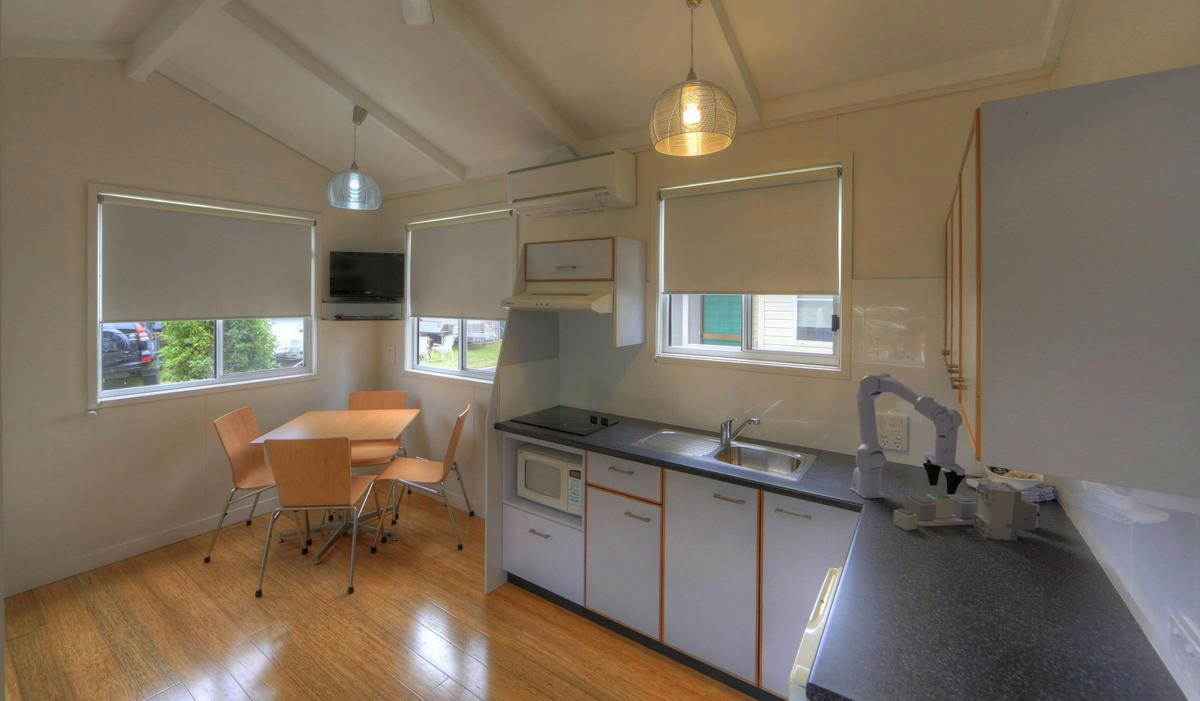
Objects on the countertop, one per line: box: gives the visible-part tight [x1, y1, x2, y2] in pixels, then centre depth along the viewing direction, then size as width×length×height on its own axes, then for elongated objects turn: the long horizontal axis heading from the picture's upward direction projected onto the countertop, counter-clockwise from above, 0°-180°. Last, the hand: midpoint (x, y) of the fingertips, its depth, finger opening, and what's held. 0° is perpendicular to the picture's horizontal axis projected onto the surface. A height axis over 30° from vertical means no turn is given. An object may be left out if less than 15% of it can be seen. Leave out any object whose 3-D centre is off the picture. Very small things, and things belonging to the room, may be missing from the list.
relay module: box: [925, 493, 954, 518], centre depth 168 cm, size 4×6×6 cm
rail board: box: [904, 494, 978, 527], centre depth 168 cm, size 9×20×7 cm, turn 96°
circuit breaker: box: [972, 480, 1040, 542], centre depth 157 cm, size 8×14×15 cm, turn 78°
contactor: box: [892, 508, 918, 531], centre depth 163 cm, size 5×4×5 cm
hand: (941, 489), depth 168 cm, fingers open, 7 cm apart
